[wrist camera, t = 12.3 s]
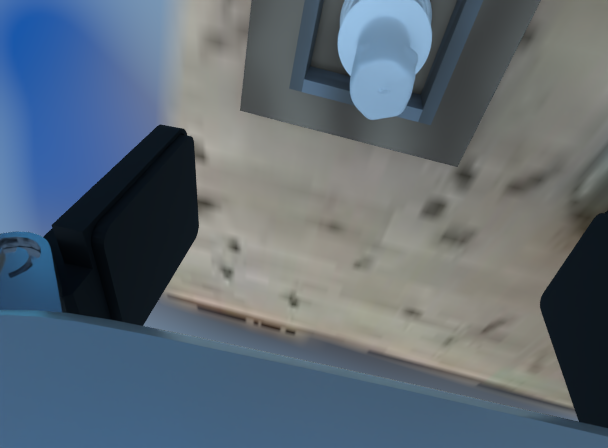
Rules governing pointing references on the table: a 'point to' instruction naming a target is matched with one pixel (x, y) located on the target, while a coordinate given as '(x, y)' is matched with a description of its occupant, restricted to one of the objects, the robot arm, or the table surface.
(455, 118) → the keeper board
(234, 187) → the table surface
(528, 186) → the table surface
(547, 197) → the table surface
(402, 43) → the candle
